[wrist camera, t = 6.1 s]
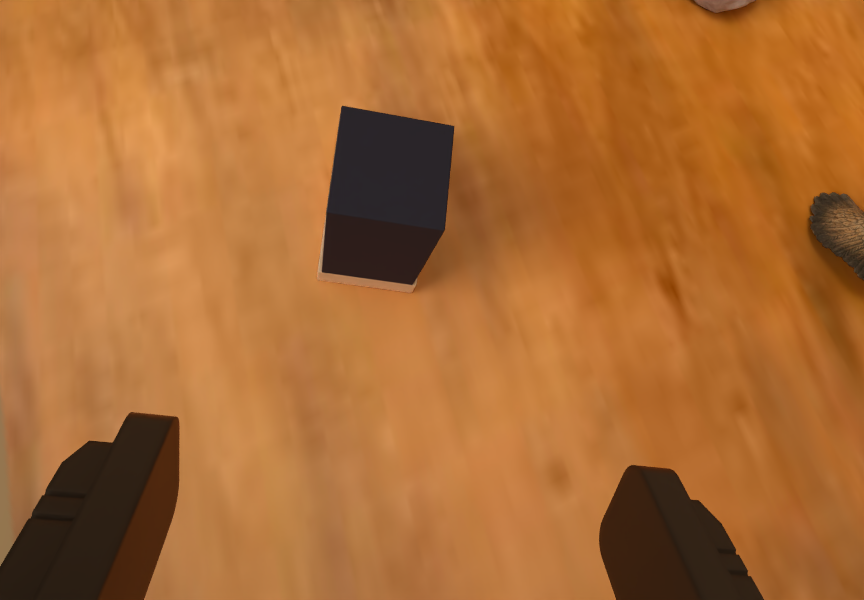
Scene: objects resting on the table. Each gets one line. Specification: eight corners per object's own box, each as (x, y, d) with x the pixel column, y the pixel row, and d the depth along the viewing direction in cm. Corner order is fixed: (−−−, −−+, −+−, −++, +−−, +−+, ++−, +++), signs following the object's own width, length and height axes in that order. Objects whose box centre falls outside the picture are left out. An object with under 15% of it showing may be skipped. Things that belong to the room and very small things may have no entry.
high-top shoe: (412, 293, 34) (449, 231, 25) (316, 280, 34) (320, 211, 25) (427, 141, 37) (467, 34, 28) (339, 125, 36) (350, 10, 27)
